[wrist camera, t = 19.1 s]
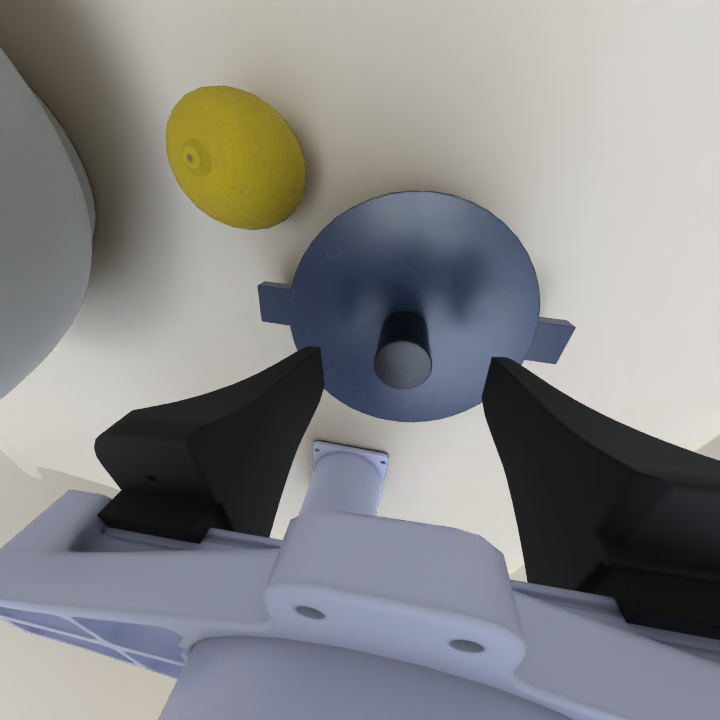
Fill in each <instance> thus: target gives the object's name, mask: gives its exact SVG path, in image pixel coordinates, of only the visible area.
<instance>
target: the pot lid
mask: <svg viewBox="0 0 720 720" xmlns="http://www.w3.org/2000/svg"><path fill="white" fill-rule="evenodd" d="M539 312H540V295H539V285H538V281H537V277H536V273H535V269H534V267H533V264H532V262H531V260H530V257H529V255H528V253H527V251H526V250H525V248H524V247H523V245H522V244H521V242H520V240H519V239H518V237H517V236H516V235H515V234H514V233H513V232H512V231H511V230H510V229H509V228H508V226H507V225H506V224H505V223H504V222H502V221H501V220H500V219H498V218H497V217H496V216H495V215H493V214H492V213H491V212H489V211H488V210H486V209H484V208H482V207H480V206H479V205H477V204H475V203H473V202H471V201H468V200H465V199H463V198H460V197H457V196H454V195H450V194H445V193H439V192H434V191H404V192H396V193H389V194H386V195H382V196H379V197H375V198H372V199H369V200H367V201H365V202H363V203H360V204H358V205H356V206H354V207H352V208H350V209H349V210H347V211H346V212H344V213H343V214H341V215H339V216H338V217H337V218H335V219H334V220H333V221H332V222H331V223H330V224H328V225H327V226H326V227H325V228H324V229H323V230H322V231H321V232H320V233H319V235H318V236H317V237H316V238H315V239H314V240H313V241H312V243H311V244H310V246H309V247H308V249H307V251H306V252H305V254H304V255H303V257H302V259H301V261H300V264H299V266H298V268H297V270H296V273H295V276H294V280H293V283H292V287H291V294H290V300H289V317H290V325H291V331H292V335H293V339H294V343H295V345H296V348H297V350H298V351H299V350H301V349H303V348H305V347H307V346H313V347H321V355H322V364H323V373H324V382H325V385H324V389H325V390H326V391H327V392H329V393H330V394H331V395H332V396H334V397H335V398H336V399H338V400H339V401H340V402H342V403H344V404H346V405H347V406H349V407H351V408H353V409H355V410H357V411H360V412H362V413H364V414H367V415H370V416H373V417H377V418H381V419H385V420H391V421H399V422H423V421H431V420H438V419H442V418H446V417H450V416H453V415H456V414H459V413H461V412H464V411H466V410H468V409H470V408H472V407H474V406H476V405H478V404H480V403H482V393H483V389H484V385H485V381H486V377H487V373H488V370H489V366H490V362H491V358H492V357H508V358H510V359H512V360H514V361H515V362H517V363H518V364H520V365H521V364H522V363H523V361H524V359H525V357H526V356H527V354H528V352H529V350H530V348H531V345H532V343H533V340H534V338H535V334H536V330H537V326H538V322H539Z"/></svg>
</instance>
